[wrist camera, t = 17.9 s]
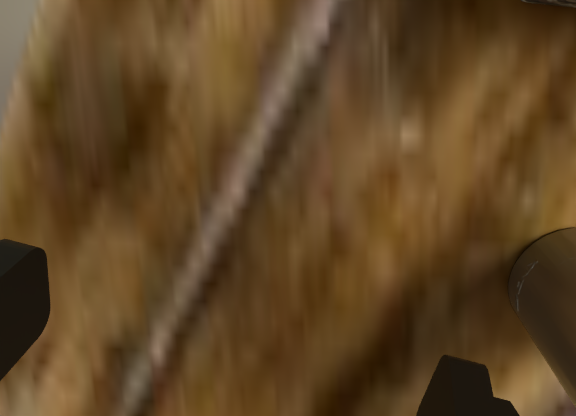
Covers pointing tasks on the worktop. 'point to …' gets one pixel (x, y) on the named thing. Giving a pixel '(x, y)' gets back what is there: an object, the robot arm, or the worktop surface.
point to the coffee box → (554, 2)
